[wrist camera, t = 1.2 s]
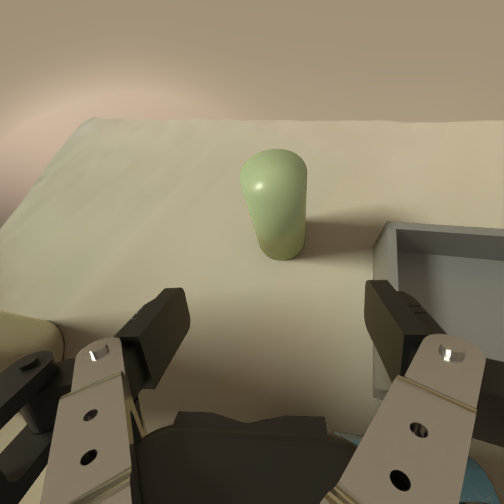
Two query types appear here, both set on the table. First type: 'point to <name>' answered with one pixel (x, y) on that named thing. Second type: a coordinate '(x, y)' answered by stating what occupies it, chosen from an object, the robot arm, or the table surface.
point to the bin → (446, 282)
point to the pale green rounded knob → (277, 201)
